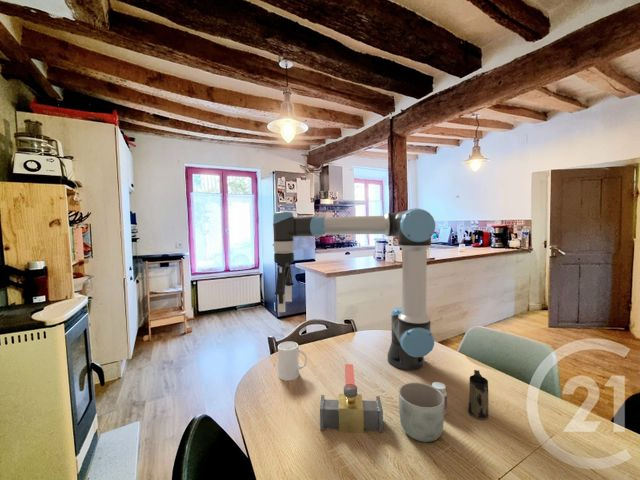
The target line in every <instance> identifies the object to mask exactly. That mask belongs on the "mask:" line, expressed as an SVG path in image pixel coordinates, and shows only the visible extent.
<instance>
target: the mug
mask: <svg viewBox="0 0 640 480" xmlns="http://www.w3.org/2000/svg"><path fill="white" fill-rule="evenodd" d="M299 353H301V354H302V355H303V356H304V359H305V362H304V364H302V365H301V366H300V365H299V360H300V359H299ZM307 361H308V357H307V355H306V353H305V352H304V351H303V350H301V349H300V348H299V344H298V343H297V342H295V341H284V342H283V341H282V342H281V343H279V344H278V345H277V363H278V364H277V367H278V368H277V369H278V371H277V377H278V379H280V380H282V381H287V382H289V381H293V380H296V379H297V378H299V376H300V370H301V369H304V368H305V367H306V364H307Z"/></svg>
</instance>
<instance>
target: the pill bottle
mask: <svg viewBox="0 0 640 480" xmlns="http://www.w3.org/2000/svg"><path fill="white" fill-rule="evenodd" d="M431 386H433V387H435V388H436V389H438V390H439V391H440V392H441V393H442V394H443V396H444V398H445V406H444V416H445V415H446V414H447V412H448V410H447V409H448V405H447V404H448V401H447V400H448V399H447V398H448V393H447V389H446V384H444V383H443V382H439V381H434V382H432V384H431Z"/></svg>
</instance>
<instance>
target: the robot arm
mask: <svg viewBox="0 0 640 480" xmlns="http://www.w3.org/2000/svg"><path fill="white" fill-rule="evenodd" d="M272 221H273V222H272V223H273V224H272V226H273V244H272V247H273V251H274V253H273V254H274V255H273V258H274V259H273V261H274V263H275V264H279V266H277V268H276V269H277V273H276V274H277V275H276V286H275V287H276V288H275V289H276V290H275V292H274V295H276V296H277V313H286V303H287V302H288V303H289V302H290V303H292V302H293V286H294V282H293V276H292V267H291V265H292V263H294V261H295V254H294V249H295V246H294V245H295V243H294V238H295V237H296V238H298V237H315V238H316V237H323V236H324V235H329V236H330V235H331V236H333V235H385V236H386V237H396V238H397V239H398V240H397V241H398V242H397V246H398V247H399V248H400V249H401V250H402V252H401V253H402V255H401V256H402V260H401V261H402V269H401V271H402V283H401V285H402V289H401V291H402V293H401V295H402V296H401V297H402V301H401V302H402V303H401V305H402V306H401V307H395V308H392V309H391V314H390V316H391V343H390V346H389V349H388V352H387V361H388V364H390V365H391V366H392V367H395V368H397V369H401V370H406V371H415V370H419V368H420V369H422V368H423V367H424V366H425V358H424V357H425V356H427V355H428V354H429V353H430V352H432V350H433V349H434V347H435V339H434V334H432V331H431V326H432V325H431V323H432V322H431V317H430V315H428V314H427V264H428V263H427V257H428V256H427V253H428V252H427V250H428V249H429V248H430V247H432V236H433V235H434V233H435V231H436V220H435V219H434V216H433V215H432V214H431V213H430V212H429V211H427V210H425V209H422V208H410V209H407V210H402V211H397V212H390V213H389V212H386V214H384V215H362V216H360V215H359V216H358V215H357V216H352V215H351V216H317V215H315V216H294V214H293V212H292V211H277V212H274V214H273V220H272ZM423 365H424V366H423ZM421 367H422V368H421Z"/></svg>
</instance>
